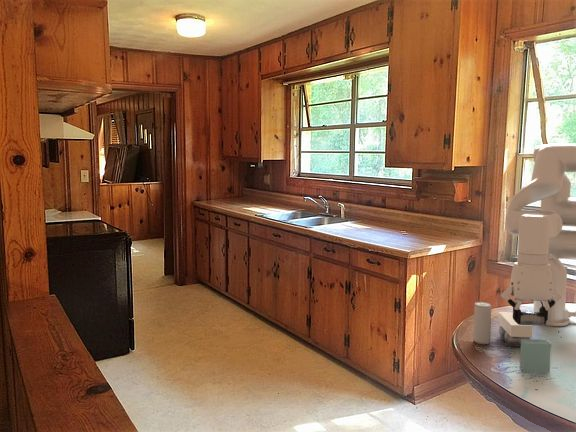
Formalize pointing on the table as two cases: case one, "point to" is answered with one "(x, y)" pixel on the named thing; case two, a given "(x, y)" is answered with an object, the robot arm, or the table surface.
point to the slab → (514, 326)
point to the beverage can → (482, 322)
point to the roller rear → (502, 332)
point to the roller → (532, 318)
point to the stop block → (535, 356)
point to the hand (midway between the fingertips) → (529, 322)
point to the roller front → (513, 340)
